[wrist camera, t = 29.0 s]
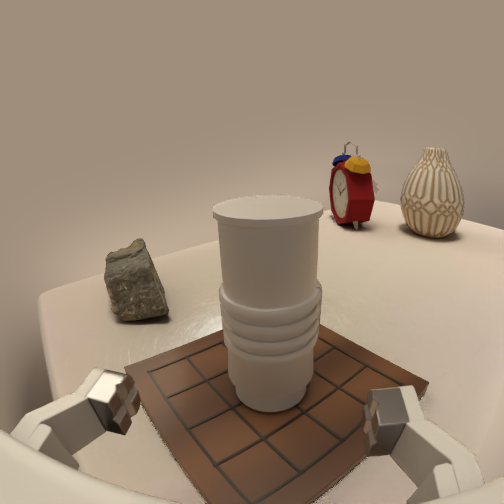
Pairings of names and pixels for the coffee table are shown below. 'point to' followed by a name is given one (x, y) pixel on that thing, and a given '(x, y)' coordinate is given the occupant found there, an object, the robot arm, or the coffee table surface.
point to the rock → (134, 283)
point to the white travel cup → (269, 296)
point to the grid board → (263, 420)
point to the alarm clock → (351, 189)
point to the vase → (432, 195)
